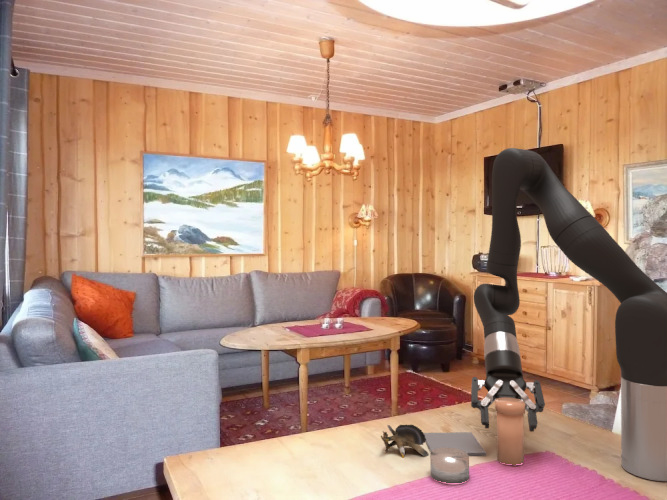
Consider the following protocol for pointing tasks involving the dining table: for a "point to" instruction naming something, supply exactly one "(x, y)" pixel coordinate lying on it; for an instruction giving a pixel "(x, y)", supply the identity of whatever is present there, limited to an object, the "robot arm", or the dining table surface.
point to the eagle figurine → (405, 438)
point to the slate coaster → (455, 442)
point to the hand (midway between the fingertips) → (509, 428)
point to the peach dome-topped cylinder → (510, 430)
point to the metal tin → (449, 465)
